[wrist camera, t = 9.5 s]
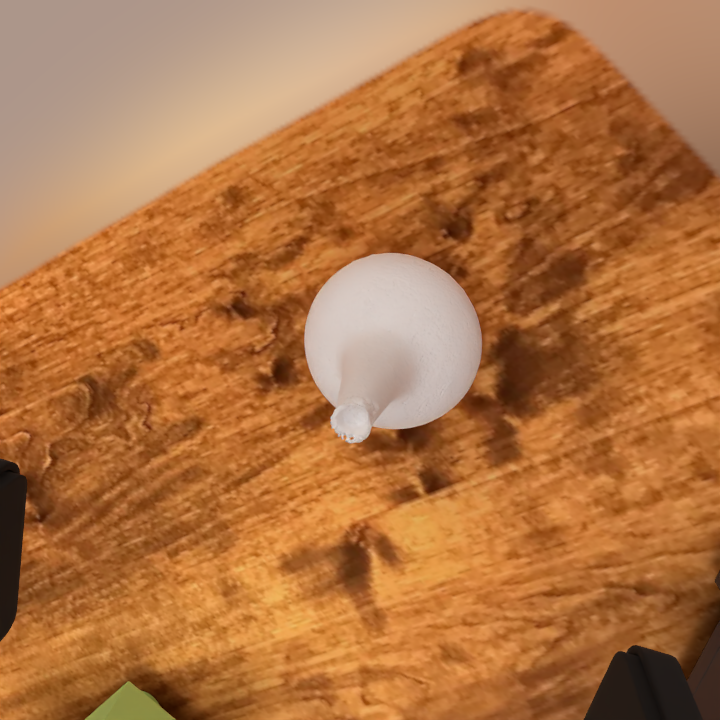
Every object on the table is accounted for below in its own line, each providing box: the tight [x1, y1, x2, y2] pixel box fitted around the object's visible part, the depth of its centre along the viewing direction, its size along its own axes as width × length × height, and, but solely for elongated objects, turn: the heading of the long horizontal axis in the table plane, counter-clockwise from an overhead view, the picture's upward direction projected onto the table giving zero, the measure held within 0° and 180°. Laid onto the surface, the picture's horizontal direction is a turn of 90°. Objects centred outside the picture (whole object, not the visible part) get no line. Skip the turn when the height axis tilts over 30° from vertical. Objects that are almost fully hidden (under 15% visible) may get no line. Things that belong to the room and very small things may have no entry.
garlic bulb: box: [304, 253, 482, 443], centre depth 22 cm, size 6×6×8 cm
